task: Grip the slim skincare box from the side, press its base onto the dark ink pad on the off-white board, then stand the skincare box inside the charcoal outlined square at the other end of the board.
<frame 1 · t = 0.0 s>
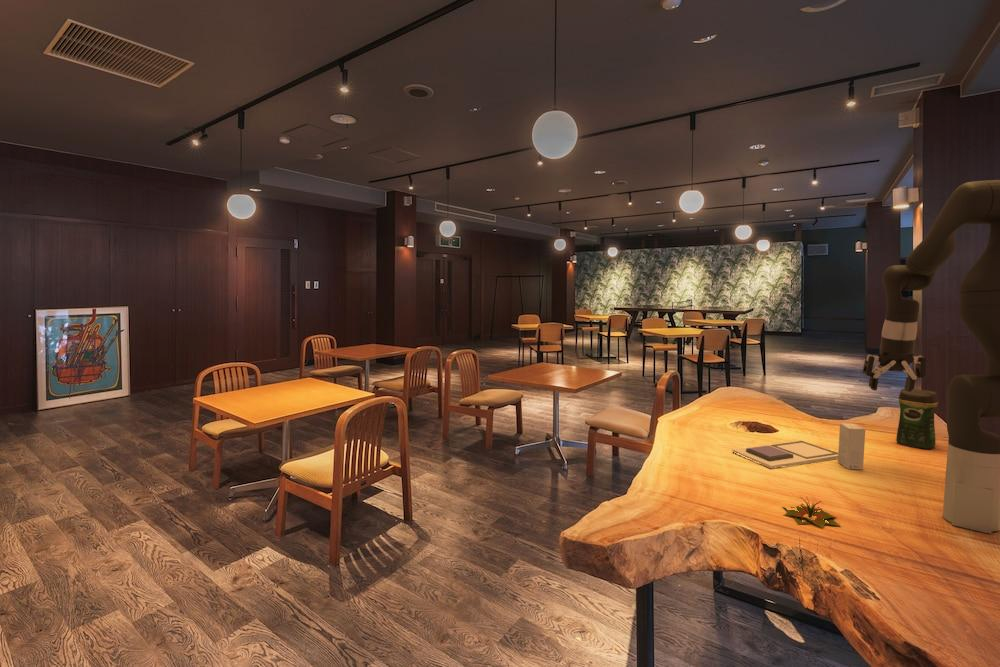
hand: (890, 390, 141), 22 cm above the table, tool pointing down, fingers open, 8 cm apart
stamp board: (786, 455, 152), on the table
coffee jar: (914, 445, 161), on the table
green leafy piece: (810, 519, 112), on the table
skincare box: (850, 466, 143), on the table
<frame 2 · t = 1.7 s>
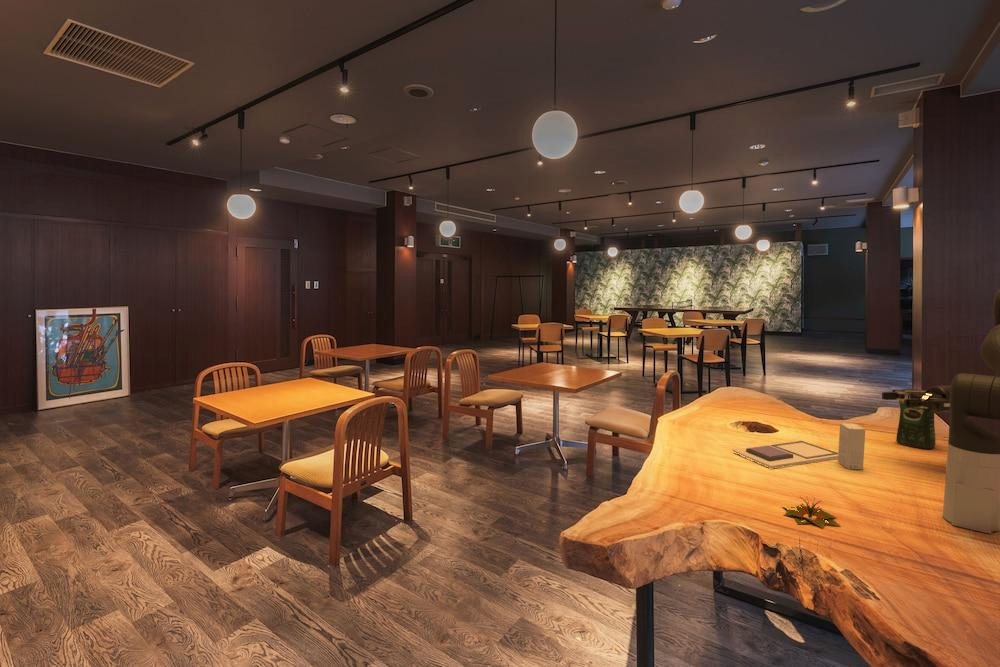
hand: (893, 399, 141), 20 cm above the table, tool horizontal, fingers open, 8 cm apart
nothing on the table moved.
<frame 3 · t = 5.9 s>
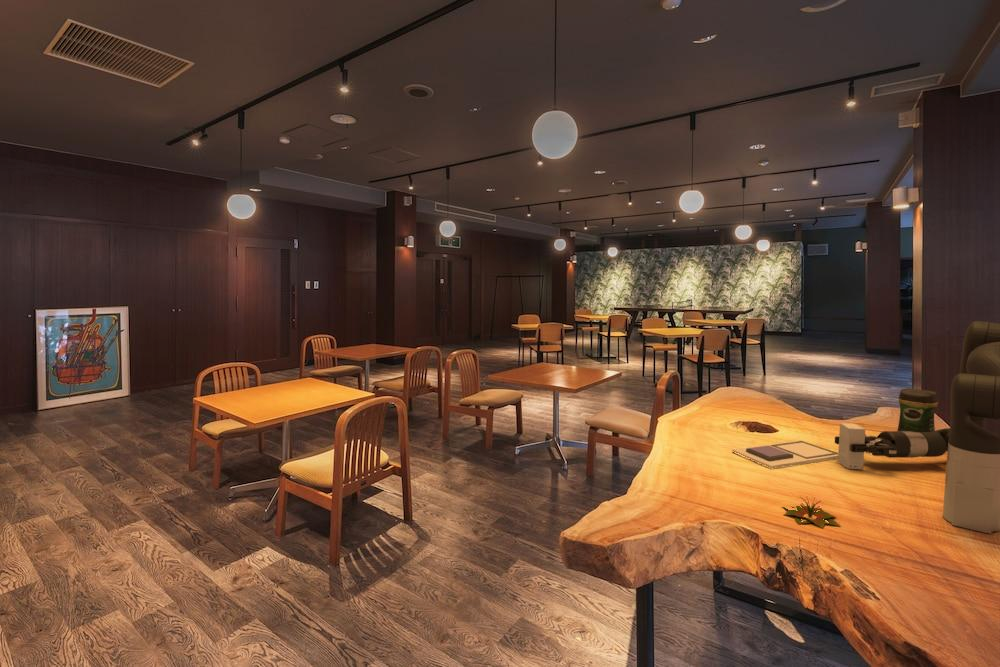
hand: (843, 444, 143), 7 cm above the table, tool horizontal, fingers closed on skincare box, 6 cm apart
skincare box: (850, 466, 143), on the table, touching gripper
everything else where it was.
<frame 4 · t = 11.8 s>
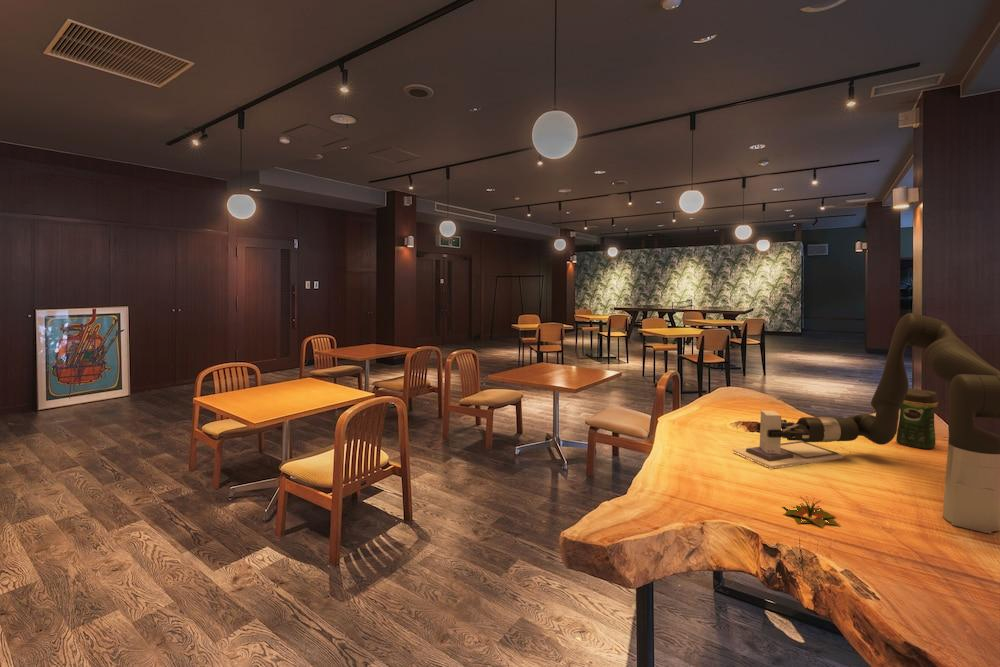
hand: (762, 430, 150), 9 cm above the table, tool horizontal, fingers closed on skincare box, 6 cm apart
skincare box: (769, 451, 150), point 2 cm above the table, touching gripper, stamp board
everything else where it was.
when the fingers open (9 cm above the table, at t = 18.0 s): skincare box drops 1 cm, resting on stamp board.
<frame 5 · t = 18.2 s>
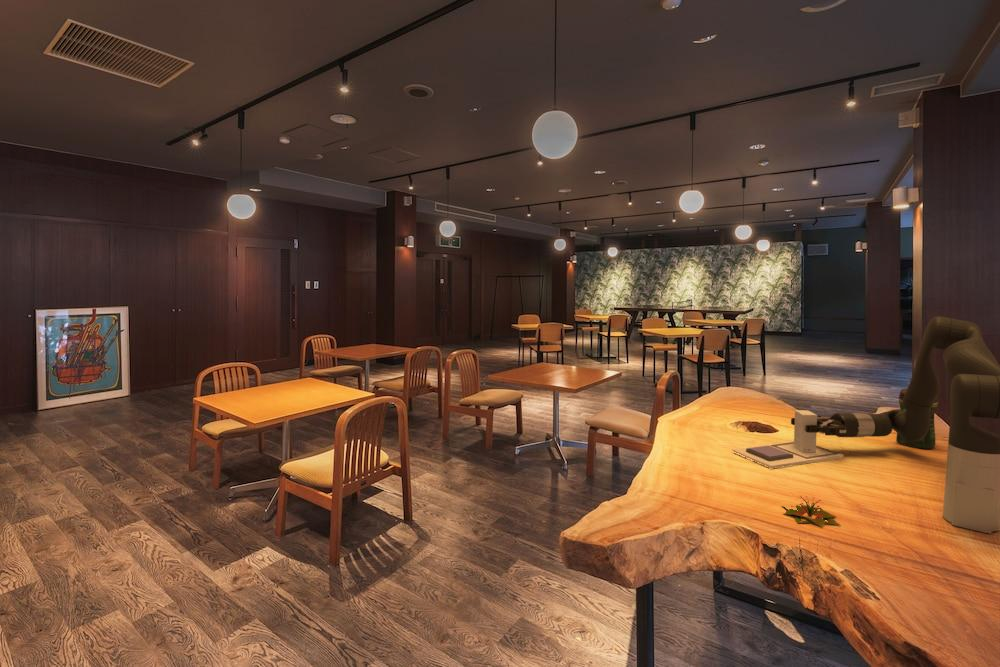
hand: (798, 425, 154), 9 cm above the table, tool horizontal, fingers open, 7 cm apart
skincare box: (804, 450, 155), point 1 cm above the table, touching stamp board
everything else where it was.
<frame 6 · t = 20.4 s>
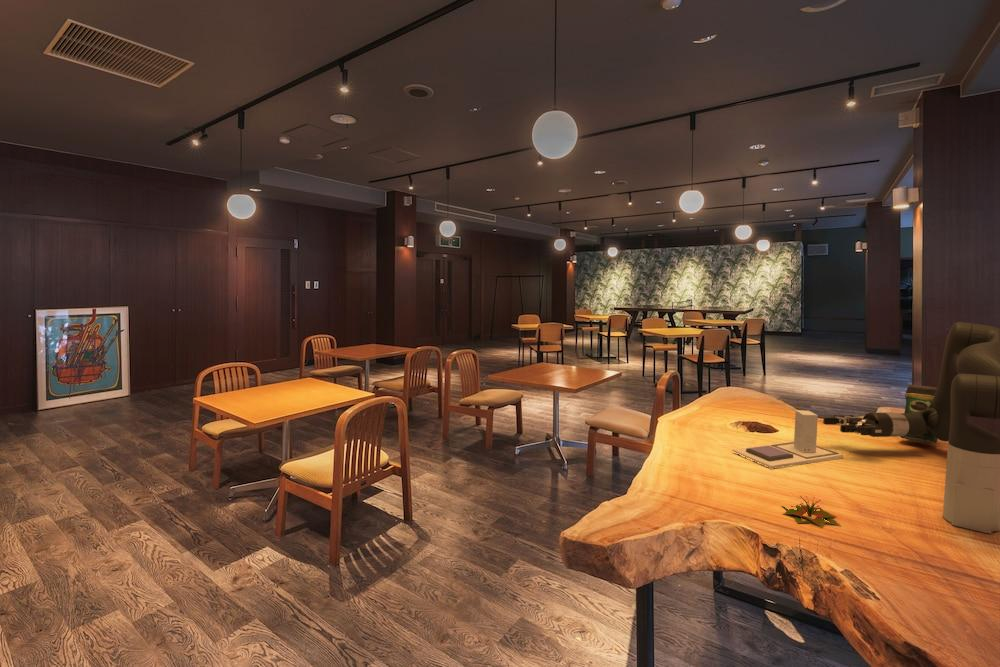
hand: (832, 424, 153), 9 cm above the table, tool horizontal, fingers open, 8 cm apart
coffee jar: (916, 441, 161), point 1 cm above the table
everything else where it was.
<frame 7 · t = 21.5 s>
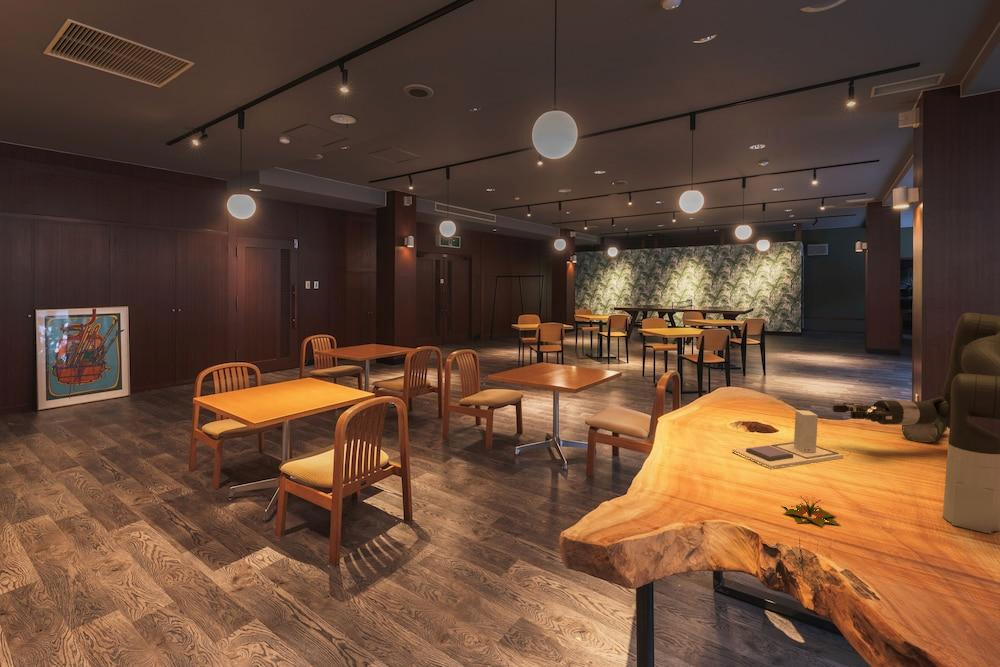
hand: (842, 411, 152), 13 cm above the table, tool horizontal, fingers open, 8 cm apart
coffee jar: (918, 431, 162), point 4 cm above the table
everything else where it was.
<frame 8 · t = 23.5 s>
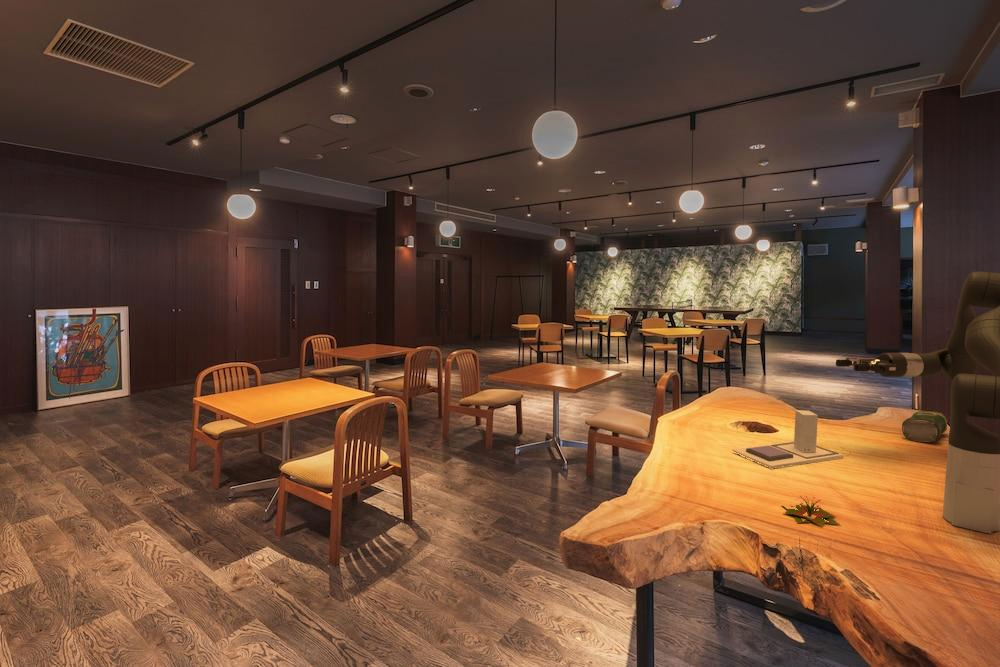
hand: (845, 365, 151), 28 cm above the table, tool horizontal, fingers open, 8 cm apart
nothing on the table moved.
at the end: skincare box inside the target area (0.3 cm from its centre), point 0.8 cm above the table; skincare box tilted 0°; the gripper is holding nothing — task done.
